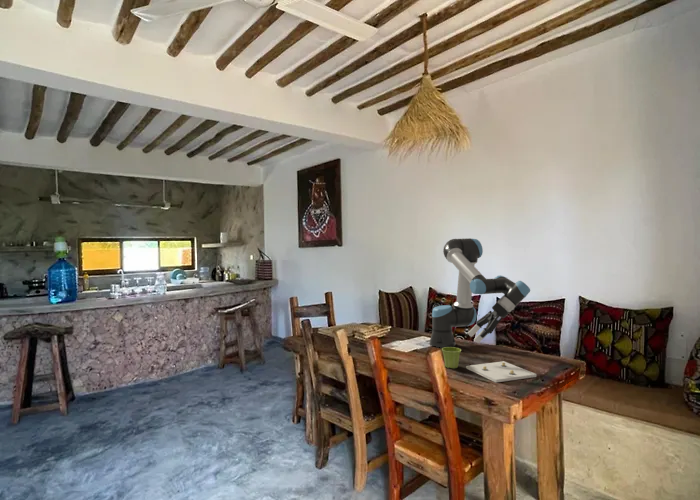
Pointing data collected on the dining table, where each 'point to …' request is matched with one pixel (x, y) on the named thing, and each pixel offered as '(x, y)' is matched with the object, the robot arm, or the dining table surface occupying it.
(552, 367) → the dining table surface
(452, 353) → the plant pot
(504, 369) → the pin board
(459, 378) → the dining table surface
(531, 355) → the dining table surface
